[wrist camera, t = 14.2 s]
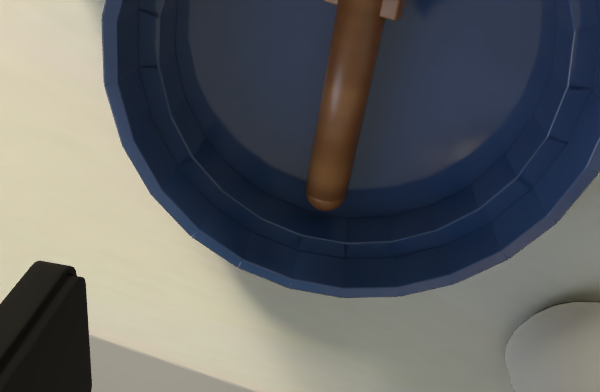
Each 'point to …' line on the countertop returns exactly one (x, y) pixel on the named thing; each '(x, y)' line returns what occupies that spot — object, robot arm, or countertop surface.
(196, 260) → the countertop surface
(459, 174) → the bowl
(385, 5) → the stirring stick
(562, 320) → the can
